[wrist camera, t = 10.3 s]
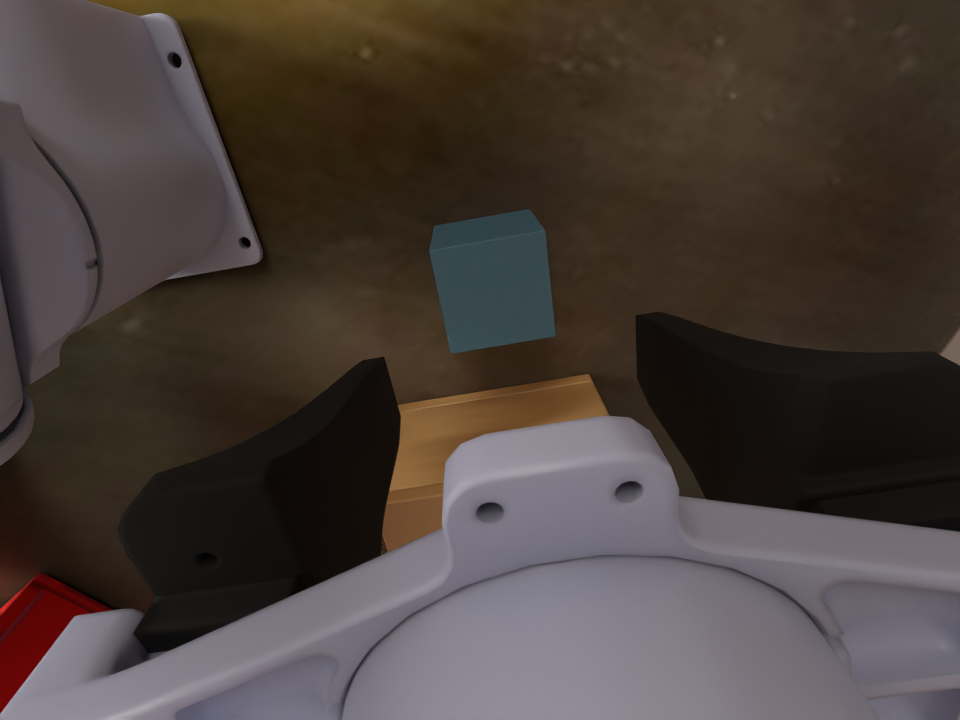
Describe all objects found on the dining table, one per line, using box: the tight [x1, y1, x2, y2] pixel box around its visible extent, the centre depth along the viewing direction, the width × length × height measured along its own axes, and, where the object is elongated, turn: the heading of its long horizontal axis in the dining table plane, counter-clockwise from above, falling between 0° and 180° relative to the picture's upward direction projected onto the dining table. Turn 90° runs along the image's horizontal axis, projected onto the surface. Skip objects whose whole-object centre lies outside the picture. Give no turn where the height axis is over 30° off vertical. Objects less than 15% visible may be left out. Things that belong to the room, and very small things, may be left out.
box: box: [389, 374, 609, 492], centre depth 26 cm, size 11×12×7 cm
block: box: [429, 209, 556, 354], centre depth 21 cm, size 4×4×4 cm
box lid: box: [382, 484, 444, 552], centre depth 23 cm, size 11×12×1 cm
